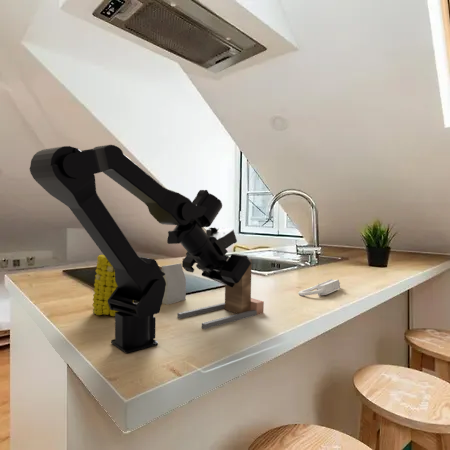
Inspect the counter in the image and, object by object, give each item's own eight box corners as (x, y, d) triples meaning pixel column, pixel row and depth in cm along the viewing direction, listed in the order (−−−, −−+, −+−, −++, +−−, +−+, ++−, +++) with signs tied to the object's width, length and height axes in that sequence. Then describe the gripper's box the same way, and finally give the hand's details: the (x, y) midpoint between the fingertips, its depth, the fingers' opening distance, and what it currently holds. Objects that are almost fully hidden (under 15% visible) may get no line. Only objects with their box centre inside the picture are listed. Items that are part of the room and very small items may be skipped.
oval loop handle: (322, 289, 122) (320, 278, 123) (345, 287, 117) (343, 275, 118) (295, 301, 107) (292, 288, 107) (320, 299, 102) (317, 285, 102)
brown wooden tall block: (241, 315, 86) (242, 260, 85) (224, 309, 90) (225, 257, 89) (250, 312, 88) (251, 259, 87) (233, 307, 92) (234, 256, 91)
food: (86, 319, 86) (126, 313, 93) (106, 319, 78) (148, 313, 84) (84, 255, 89) (122, 254, 95) (103, 249, 80) (144, 248, 87)
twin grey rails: (204, 329, 76) (204, 315, 75) (177, 318, 83) (177, 305, 83) (263, 313, 88) (263, 301, 88) (235, 304, 95) (235, 293, 95)
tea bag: (185, 300, 99) (186, 264, 98) (167, 305, 94) (167, 267, 93) (176, 298, 101) (176, 262, 101) (157, 302, 96) (157, 265, 95)
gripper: (246, 218, 76) (278, 265, 84) (192, 215, 90) (224, 255, 98) (216, 258, 71) (254, 304, 79) (165, 248, 85) (201, 288, 93)
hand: (232, 285), depth 87 cm, fingers closed, pressing on brown wooden tall block
